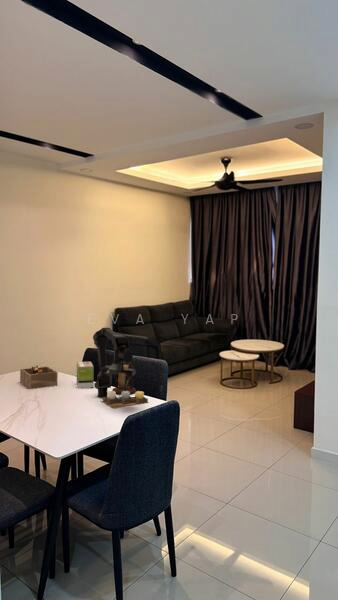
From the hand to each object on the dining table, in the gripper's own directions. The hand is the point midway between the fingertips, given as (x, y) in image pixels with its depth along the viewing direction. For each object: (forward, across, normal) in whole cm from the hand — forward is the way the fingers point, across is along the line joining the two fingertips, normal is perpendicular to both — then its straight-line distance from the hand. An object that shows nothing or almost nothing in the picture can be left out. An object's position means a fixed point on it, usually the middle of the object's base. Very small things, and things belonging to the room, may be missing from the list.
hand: (117, 385), depth 233 cm
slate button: (+9, +2, +7) cm, 11 cm away
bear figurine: (+15, -68, +23) cm, 74 cm away
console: (+12, +2, +6) cm, 14 cm away
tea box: (+14, -39, +33) cm, 53 cm away
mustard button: (+9, +9, +10) cm, 16 cm away
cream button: (+9, -5, +3) cm, 11 cm away
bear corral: (+14, -68, +23) cm, 74 cm away
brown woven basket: (+13, -7, +26) cm, 30 cm away
